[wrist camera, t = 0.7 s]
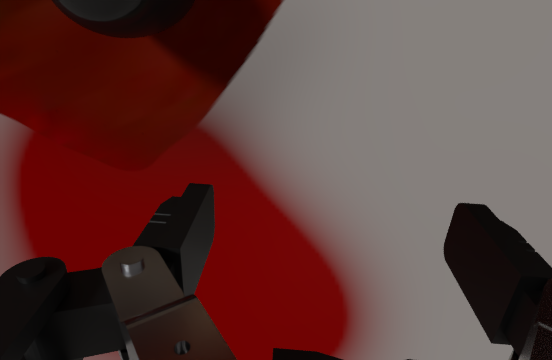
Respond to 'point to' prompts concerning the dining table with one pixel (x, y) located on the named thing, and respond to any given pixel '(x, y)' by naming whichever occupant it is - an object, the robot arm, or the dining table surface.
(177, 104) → the dining table surface
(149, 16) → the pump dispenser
